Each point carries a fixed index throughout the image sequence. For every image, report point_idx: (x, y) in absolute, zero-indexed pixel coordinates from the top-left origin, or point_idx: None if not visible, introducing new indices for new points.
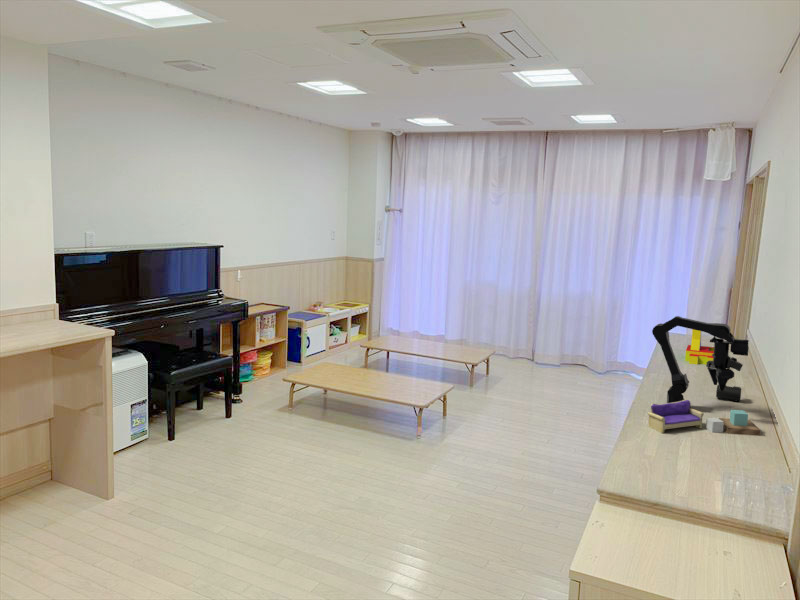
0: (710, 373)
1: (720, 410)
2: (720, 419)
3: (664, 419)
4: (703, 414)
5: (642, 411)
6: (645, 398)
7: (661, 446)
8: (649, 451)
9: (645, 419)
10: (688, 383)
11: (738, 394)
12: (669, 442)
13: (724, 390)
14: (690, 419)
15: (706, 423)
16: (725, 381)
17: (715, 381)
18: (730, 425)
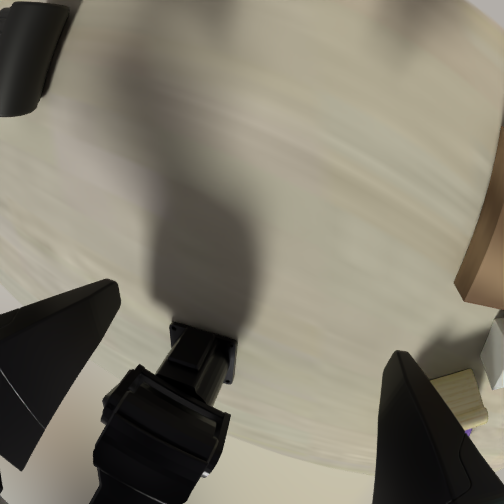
0: (43, 430)
1: (208, 140)
2: (482, 302)
3: None
4: (487, 412)
5: (265, 439)
6: (119, 371)
7: (499, 450)
8: (501, 460)
9: (342, 454)
10: (162, 442)
11: (47, 12)
12: (496, 441)
13: (14, 80)
14: (470, 430)
15: (487, 372)
16: (471, 485)
17: (91, 323)
18: None
